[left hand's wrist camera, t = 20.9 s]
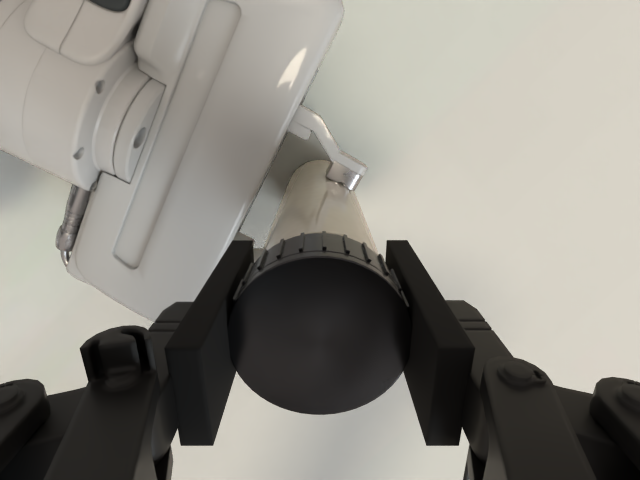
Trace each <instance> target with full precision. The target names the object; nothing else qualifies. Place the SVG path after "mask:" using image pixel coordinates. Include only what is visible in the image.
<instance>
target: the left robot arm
mask: <svg viewBox="0 0 640 480" xmlns="http://www.w3.org/2000/svg"><path fill="white" fill-rule="evenodd" d="M251 262H252V263H253V264H254V252H253V240H232V242H231V243H230V245H229V247H228V248H227V250H226V251H225V253H224V255H223V256H222V258H221V259H220V261H219V262H218V264H217V266H216V267H215V269H214V270H213V272H212V273H211V275H210V277H209V278H208V280H207V281H206V283H205V285H204V286H203V288H202V289H201V291H200V292H199V294H198V296H197V297H196V299H195V300H194V302H175V303H174V304H172V305H170V306H169V307H167V308H166V309H164V310H163V311H162V312H161V314H160V315H159V316H158V318H157V319H156V320H155V323H153V324H152V326H151V327H150V328H149V329H148V330H147V329H146V328H144V327H140V326H120V327H116V328H111V329H108V330H106V331H103V332H101V333H98V334H96V335H95V336H93V337H92V338H90V339H88V340H87V341H86V342H85V343H84V344H83V345H82V346H81V348H80V351H81V355H82V359H83V363H84V366H85V370H86V374H87V378H88V384H87V386H86V387H84V388H80V389H76V390H72V391H67V392H63V393H58V394H53V395H49V396H47V394H46V391H45V388H44V385H43V384H42V383H40V382H39V381H38V380H32V379H22V380H15V381H10V382H6V383H3V384H0V480H171V475H172V466H173V456H172V450H171V442H172V440H173V438H174V435H175V433H176V431H177V429H178V432H179V438H180V444H181V446H213V444H214V441H215V438H216V435H217V431H218V428H219V425H220V422H221V419H222V415H223V412H224V409H225V406H226V402H227V399H228V396H229V393H230V390H231V386H232V383H233V380H234V377H235V373H236V369H235V367H234V365H233V363H232V360H231V358H230V351H229V341H228V330H227V323H228V319H229V315H230V312H231V310H232V307H233V305H234V302H232V299H233V297H234V295H235V292H236V290H237V288H238V286H239V283H240V281H241V279H244V276H245V274H246V272H247V269H248V267H249V265H250V263H251ZM385 263H386V264H387V266H388V267H389V268H390V270H391V269H393V270H394V272H395V274H396V276H397V279H398V281H399V283H400V285H401V288H402V290H403V292H404V295H405V297H406V299H407V301H408V304H409V306H410V308H409V310H408V311H409V313H410V316H411V321H412V337H411V347H410V356H409V360H408V362H407V364H406V366H405V369H404V370H403V371H404V375H405V378H406V381H407V384H408V388H409V391H410V394H411V397H412V400H413V404H414V407H415V410H416V413H417V417H418V420H419V423H420V426H421V429H422V433H423V436H424V439H425V442H426V446H459V441H460V435H461V429H462V428H463V430H464V432H465V434H466V437H467V439H468V441H469V450H468V455H467V461H466V466H465V472H464V477H463V480H640V383H639V382H637V381H636V382H635V381H633V380H629V379H624V378H616V377H610V378H603V379H601V380H600V381H599V382H597V383H596V386H595V389H594V393H593V394H590V393H585V392H581V391H576V390H571V389H566V388H562V387H558V386H555V385H553V383H552V381H551V380H550V379H549V377H548V376H547V375H546V373H545V372H543V371H542V370H541V369H539V368H538V367H537V366H535V365H533V364H531V363H529V362H527V361H524V360H522V359H518V358H514V357H513V356H512V355H511V353H510V352H509V351H508V349H507V348H506V347H505V345H504V344H503V343H502V342H501V340H500V339H499V338H498V336H497V335H496V334H495V332H494V331H493V330H491V327H490V326H489V324H488V323H487V322H485V319H484V318H483V317H482V315H481V314H480V313H479V311H478V310H477V309H476V308H474V307H473V306H471V305H470V304H468V303H467V302H465V301H464V300H445V299H444V298H443V296H442V295H441V293H440V291H439V290H438V288H437V287H436V285H435V284H434V282H433V280H432V279H431V277H430V276H429V274H428V273H427V271H426V269H425V268H424V266H423V265H422V263H421V261H420V260H419V258H418V257H417V255H416V254H415V252H414V250H413V249H412V247H411V246H410V244H409V243H408V241H407V240H387V246H386V262H385Z"/></svg>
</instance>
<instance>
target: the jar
mask: <svg viewBox="0 0 640 480" xmlns="http://www.w3.org/2000/svg"><path fill="white" fill-rule="evenodd" d="M329 164H330V161H326V160H313V161H310V162H307V163H305V164H303V165H302V166H300V167H299V168H298V169H297V170H296V171H295V172H294V173H293V175H292V176H291V179H290V181H289V183H288V186H287V189H286V191H285V194H284V196H283V199H282V201H281V204H280V206H279V209H278V212H277V214H276V217H275V219H274V222H273V224H272V227H271V230H270V232H269V235H268V237H267V240H266V242H265V245H264V248H263V250H264V249H267V250H268V249H270V248H271V247H273V246H274V245H276V244H278V243H280V240H281V239H283V238H284V240H287V239H289V238H292V237H295V236H299V235H301V233H303V232H304V233H305V234H312V233H322V231H326V233H329V234H335V235H340V236H343V235H344V234H345V235H347V237H348V238H351V239H353V240H355V241H358V242H360V243H363V242H365V243H366V244H367V247H369V248H370V249H371V250H373V251H374V252H375V253H376V254H378V251H377V248H376V246H375V243H374V241H373V238H372V236H371V233H370V230H369V228H368V225H367V223H366V220H365V218H364V215H363V213H362V210H361V207H360V205H359V202H358V200H357V197H356V195H355V192H354V191H351V190H349V189H347V188H346V187H344V186H343V183H342V182H340V183H337V182H334V181H332V180H331V179H329V178H327V177H326V170H327V168H328V166H329ZM263 250H262V252H263ZM261 255H262V253H261ZM261 255H260V256H261ZM378 255H379V254H378Z"/></svg>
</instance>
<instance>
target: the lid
mask: <svg viewBox="0 0 640 480" xmlns="http://www.w3.org/2000/svg"><path fill="white" fill-rule="evenodd" d="M232 302H234V305H233V307H232V310H231V312H230V315H229V319H228V323H227V330H228V341H229V351H230V358H231V360H232V363H233V365H234V367H235V369H236V371H237V372H238V374H239V376H240V377H241V378H242V380H243V381H244V382H245V383H246V384H247V385H248V386H249V387H250V388H251V389H252V390H253V391H254V392H255V393H257V394H258V395H259V396H260V397H262V398H264V399H265V400H267V401H268V402H270V403H272V404H274V405H277V406H279V407H281V408H284V409H287V410H290V411H294V412H299V413H305V414H317V415H325V414H336V413H341V412H346V411H349V410H353V409H356V408H358V407H361V406H363V405H365V404H367V403H369V402H371V401H373V400H375V399H376V398H378V397H379V396H380V395H382V394H383V393H385V392H386V391H387V390H388V389H389V388H390V387H391V386H392V385H393V384H394V383H395V381H396V380H397V379H398V378H399V376H400V375H401V373H402V372H403V370H404V369H405V366H406V364H407V362H408V360H409V356H410V347H411V337H412V321H411V316H410V313H409V311H408V310H409V308H410V306H409V304H408V301H407V299H406V297H405V295H404V292H403V290H402V288H401V285H400V283H399V281H398V279H397V276H396V274H395V272H394V270H393V269H391V270H390V268H389V267H388V266H387V264H386V263H385V261H384V259H383V256H382V255H381V254H379V255H378V254H376V253H375V252H374V251H373V250H371V249H370V248H369V247H367V244H366V243H365V242H363V243H360V242H358V241H355V240H353V239H351V238H348V237H347V235H345V234H344V235H343V236H340V235H335V234H329V233H326V231H322V233H312V234H305V233H304V232H303V233H301V235H299V236H295V237H292V238H289V239H287V240H284V238H283V239H281V240H280V243H278V244H276V245H274V246H273V247H271V248H270V249H268V250H267V249H264V250H263V252H262V255H261V256H260V257H259V258H258V259H257V260H256V261H255V263H254V264H253V263H252V262H251V263H250V265H249V267H248V269H247V272H246V274H245V276H244V279H241V281H240V283H239V286H238V288H237V290H236V292H235V295H234V297H233V299H232Z"/></svg>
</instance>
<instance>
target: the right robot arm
mask: <svg viewBox="0 0 640 480" xmlns="http://www.w3.org/2000/svg"><path fill="white" fill-rule="evenodd" d="M343 16H344V6H343V2H342V0H0V150H2V151H4V152H7V153H9V154H11V155H13V156H15V157H17V158H19V159H21V160H23V161H25V162H28V163H30V164H32V165H34V166H36V167H38V168H40V169H42V170H44V171H46V172H49V173H51V174H53V175H55V176H57V177H59V178H61V179H63V180H65V181H67V182H69V183H72V188H71V191H70V194H69V197H68V201H67V205H66V211H65V217H64V220H63V223H62V225H61V226H60V228H59V229H58V232H57V236H56V247H57V248H58V249H59V250H61V257H62V260H63V263H64V265H65V266H66V269H67V272H68V273H69V274H70V275H72V276H73V277H75V278H76V279H78V280H80V281H83V282H85V283H87V284H90V285H92V286H94V287H95V288H96V289H98V290H99V291H101V292H102V293H104V294H105V295H107V296H109V297H110V298H112V299H113V300H115V301H117V302H118V303H120V304H122V305H123V306H125V307H127V308H129V309H130V310H132V311H134V312H136V313H138V314H139V315H141V316H143V317H145V318H147V319H149V320H151V321H153V322H155V320H156V319H157V318H158V316H159V315H160V314H161V312H162V311H163V310H164V309H166V308H167V307H169V306H170V305H172V304H174V303H175V302H194V300H195V299H196V297H197V296H198V294H199V292H200V291H201V289H202V288H203V286H204V285H205V283H206V281H207V280H208V278H209V277H210V275H211V273H212V272H213V270H214V269H215V267H216V266H217V264H218V262H219V261H220V259H221V258H222V256H223V255H224V253H225V251H226V250H227V248H228V247H229V245H230V243H231V242H232V240H253V245H254V243H255V241H254V239H252V238H250V237H248V236H246V235H244V234H242V233H240V232H239V231H240V229H241V227H242V225H243V223H244V221H245V218H246V216H247V214H248V212H249V210H250V208H251V206H252V204H253V202H254V200H255V198H256V196H257V194H258V192H259V190H260V188H261V186H262V184H263V182H264V180H265V178H266V176H267V174H268V172H269V170H270V168H271V166H272V164H273V162H274V160H275V158H276V156H277V153H278V151H279V149H280V147H281V145H282V143H283V141H284V139H285V137H286V135H287V133H288V131H289V132H291V133H292V134H294V135H296V136H298V137H300V138H302V139H304V140H307V139H309V137H310V135H311V132H312V131H313V132H314V134H315V135H316V137H317V138H318V140H319V142H320V143H321V145H322V147H323V148H324V150H325V151H326V153H327V155H328V156H329V158H330V160H331V162H330V164H329V166H328V168H327V170H326V177H327V178H329V179H331V180H332V181H334V182H337V183H340V182H342V183H343V186H344V187H346V188H347V189H349V190H351V191H354V190H355V189H356V187H357V185H358V184H359V182H360V180H361V179H362V177H363V175H364V173H365V172H366V170H367V166H366V165H365V164H364V163H362V162H361V161H359V160H357V159H355V158H354V157H352V156H350V155H348V154H346V153H345V152H343V151H341V150H340V149H339V146H338V145H337V143H336V141H335V140H334V138H333V136H332V135H331V133H330V131H329V129H328V128H327V126H326V124H325V123H324V121H323V119H322V118H321V116H320V115H319V114H317V113H315V112H313V111H312V110H310V109H308V108H306V107H305V106H303V105H302V103H303V101H304V99H305V97H306V95H307V93H308V91H309V89H310V86H311V84H312V82H313V80H314V78H315V76H316V74H317V72H318V70H319V68H320V66H321V64H322V62H323V60H324V58H325V56H326V54H327V52H328V50H329V48H330V46H331V44H332V42H333V40H334V38H335V36H336V34H337V32H338V30H339V27H340V25H341V23H342V20H343ZM262 250H263V248H253V252H254V263H255V261H256V260H257V259H258V258H259V257H260V255H261V253H262ZM69 251H72V252H71V255H70V256H69Z"/></svg>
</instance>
